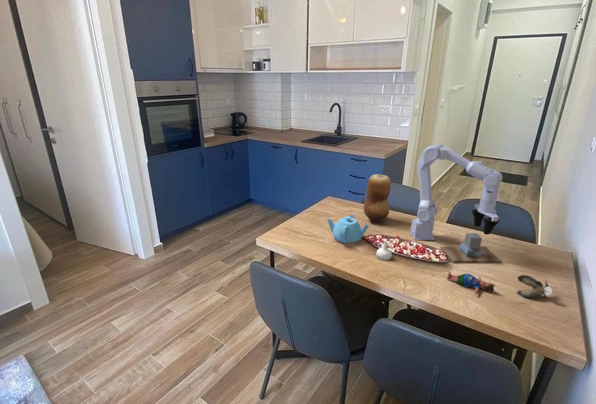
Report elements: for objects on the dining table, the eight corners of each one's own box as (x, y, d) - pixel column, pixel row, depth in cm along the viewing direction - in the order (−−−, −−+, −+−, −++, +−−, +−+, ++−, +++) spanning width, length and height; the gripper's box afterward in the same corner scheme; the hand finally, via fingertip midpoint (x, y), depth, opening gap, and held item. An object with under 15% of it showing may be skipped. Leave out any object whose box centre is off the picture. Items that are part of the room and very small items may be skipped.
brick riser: (452, 262, 130) (454, 253, 129) (440, 248, 141) (441, 239, 140) (501, 262, 130) (503, 253, 129) (485, 248, 141) (487, 239, 140)
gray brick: (469, 248, 132) (471, 237, 130) (463, 243, 136) (466, 233, 135) (479, 248, 132) (482, 237, 130) (474, 243, 136) (476, 233, 135)
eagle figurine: (539, 284, 114) (513, 278, 115) (553, 277, 108) (525, 270, 109) (542, 305, 110) (515, 298, 111) (557, 298, 104) (529, 291, 105)
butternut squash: (390, 225, 165) (395, 179, 156) (364, 225, 165) (368, 179, 156) (384, 215, 178) (388, 171, 169) (360, 215, 178) (363, 171, 169)
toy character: (452, 261, 123) (497, 273, 115) (450, 272, 125) (494, 284, 117) (445, 277, 113) (494, 291, 105) (443, 288, 115) (491, 303, 107)
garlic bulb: (375, 260, 134) (376, 244, 130) (377, 251, 139) (378, 236, 135) (390, 262, 131) (392, 246, 128) (392, 254, 137) (393, 238, 133)
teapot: (325, 234, 156) (325, 213, 152) (351, 228, 161) (352, 209, 158) (341, 247, 143) (342, 226, 139) (369, 241, 148) (370, 220, 144)
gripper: (508, 206, 124) (501, 237, 128) (488, 194, 137) (482, 223, 142) (490, 206, 124) (483, 237, 128) (472, 194, 137) (466, 223, 142)
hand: (481, 230), depth 135 cm, fingers open, 7 cm apart
